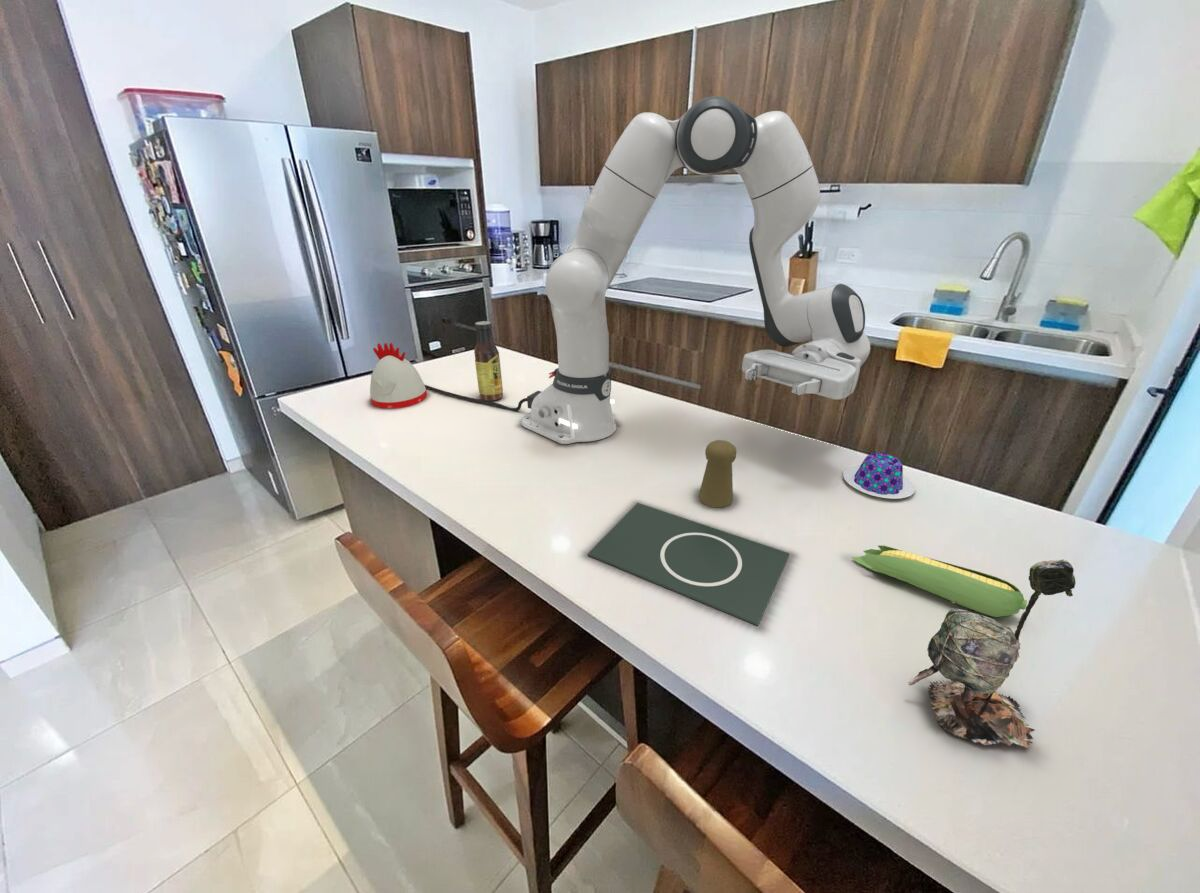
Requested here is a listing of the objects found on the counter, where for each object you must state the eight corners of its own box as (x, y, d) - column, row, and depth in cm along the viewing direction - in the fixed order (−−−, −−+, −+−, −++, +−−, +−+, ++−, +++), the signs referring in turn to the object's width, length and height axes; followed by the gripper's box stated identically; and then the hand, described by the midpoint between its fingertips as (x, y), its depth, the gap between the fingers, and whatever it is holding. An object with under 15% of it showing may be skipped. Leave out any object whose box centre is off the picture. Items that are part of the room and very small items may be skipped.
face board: (587, 555, 76) (587, 553, 75) (637, 504, 88) (637, 502, 87) (757, 625, 63) (758, 623, 63) (788, 555, 75) (789, 552, 75)
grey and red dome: (388, 387, 140) (377, 335, 133) (435, 389, 138) (425, 336, 131) (361, 407, 128) (346, 350, 121) (411, 409, 126) (400, 352, 119)
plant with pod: (906, 659, 59) (961, 522, 49) (1026, 707, 53) (1114, 562, 44) (900, 714, 53) (962, 569, 43) (1035, 774, 47) (1139, 623, 38)
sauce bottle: (501, 402, 130) (492, 326, 120) (477, 402, 130) (467, 326, 120) (505, 392, 135) (497, 319, 126) (482, 392, 136) (473, 319, 126)
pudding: (881, 508, 86) (889, 482, 83) (827, 475, 95) (833, 451, 93) (929, 492, 90) (938, 467, 87) (873, 462, 100) (879, 439, 97)
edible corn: (1017, 633, 62) (1032, 606, 60) (846, 569, 72) (853, 544, 70) (1017, 607, 66) (1030, 581, 63) (854, 550, 76) (861, 526, 74)
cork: (733, 509, 86) (741, 453, 81) (697, 505, 87) (703, 450, 82) (732, 490, 91) (739, 437, 86) (698, 487, 92) (704, 434, 87)
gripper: (768, 338, 100) (724, 352, 93) (870, 361, 86) (829, 380, 79) (763, 368, 103) (721, 384, 96) (862, 395, 89) (821, 416, 81)
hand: (771, 382), depth 87 cm, fingers open, 8 cm apart
